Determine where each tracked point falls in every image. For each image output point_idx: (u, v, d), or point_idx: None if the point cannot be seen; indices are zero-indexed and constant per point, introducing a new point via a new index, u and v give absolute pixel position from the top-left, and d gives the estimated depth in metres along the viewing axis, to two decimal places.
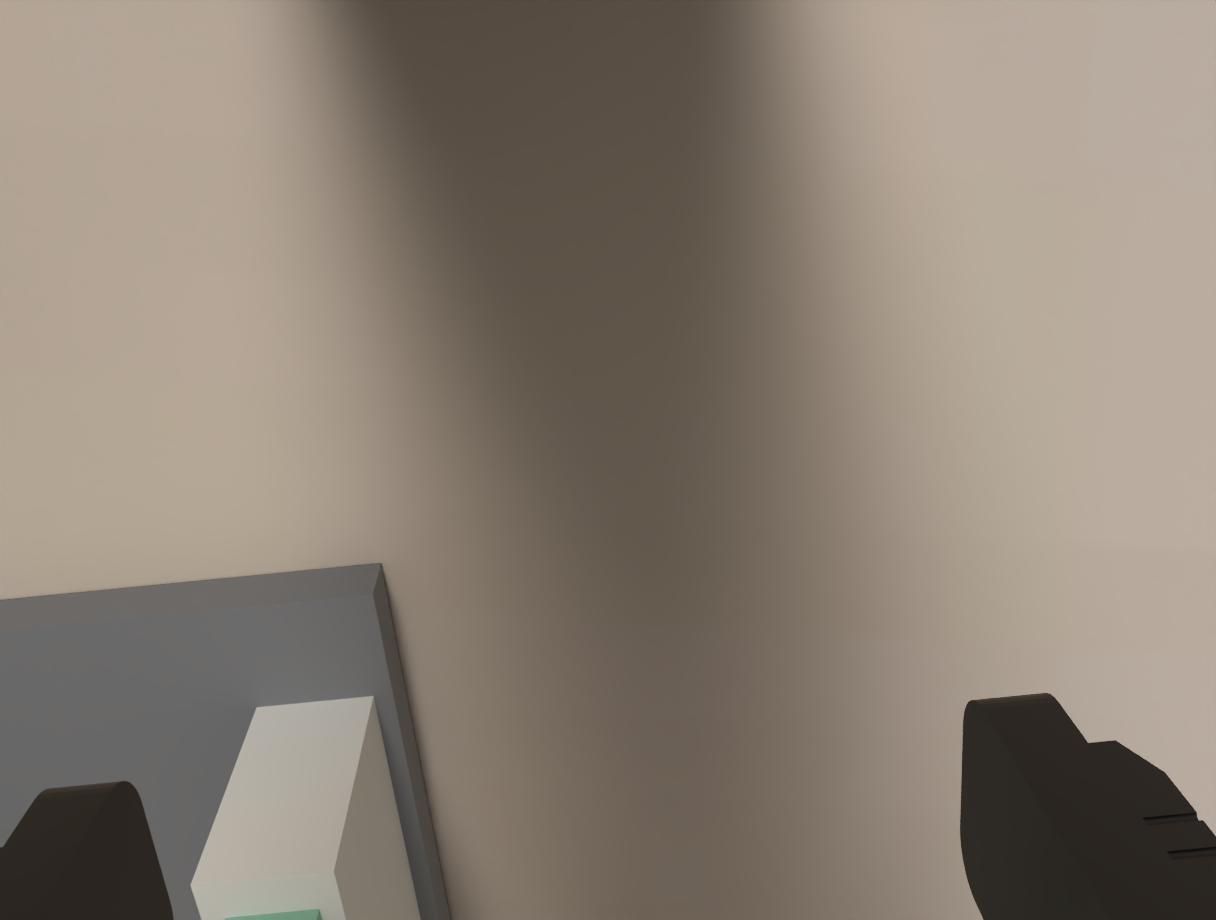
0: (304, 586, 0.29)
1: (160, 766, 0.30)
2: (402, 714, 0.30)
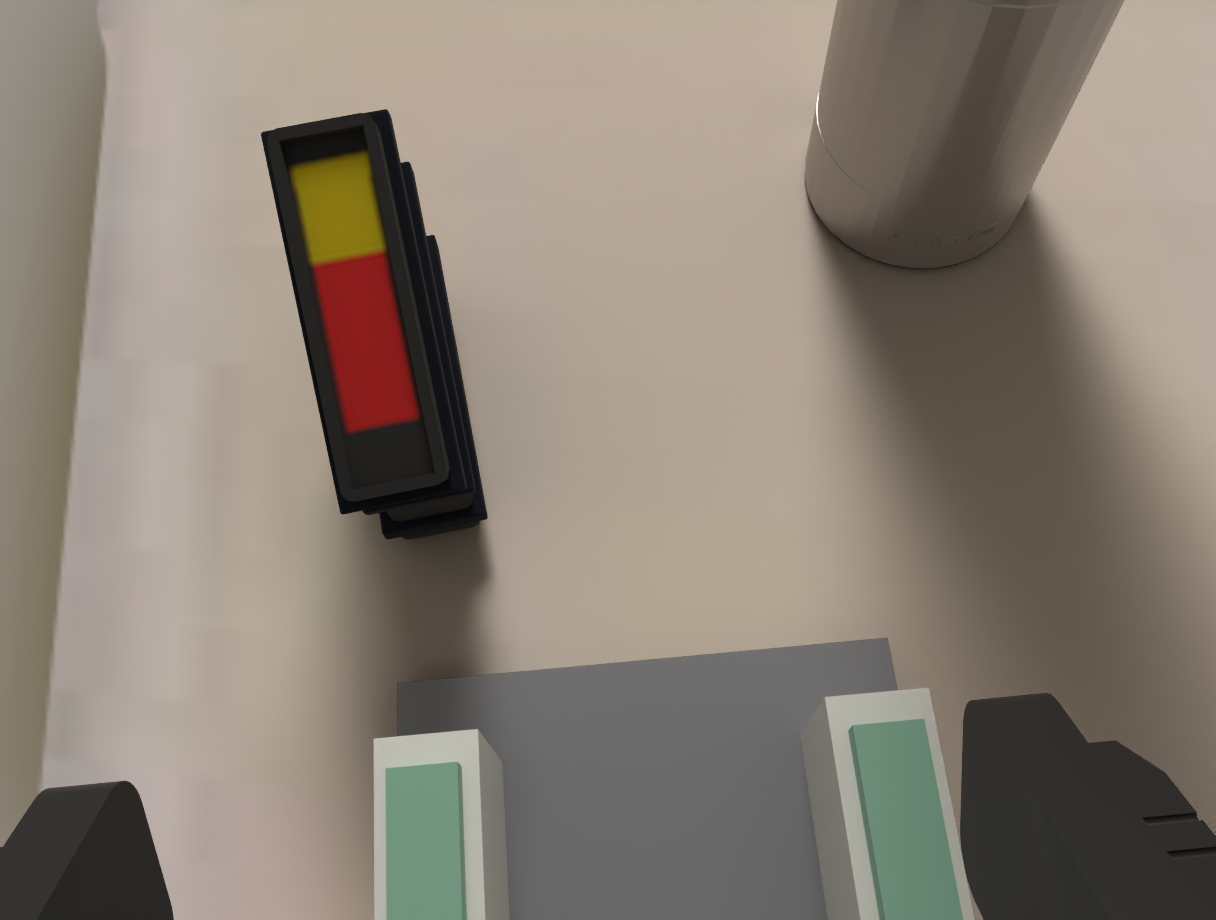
0: None
1: (720, 790, 0.38)
2: None
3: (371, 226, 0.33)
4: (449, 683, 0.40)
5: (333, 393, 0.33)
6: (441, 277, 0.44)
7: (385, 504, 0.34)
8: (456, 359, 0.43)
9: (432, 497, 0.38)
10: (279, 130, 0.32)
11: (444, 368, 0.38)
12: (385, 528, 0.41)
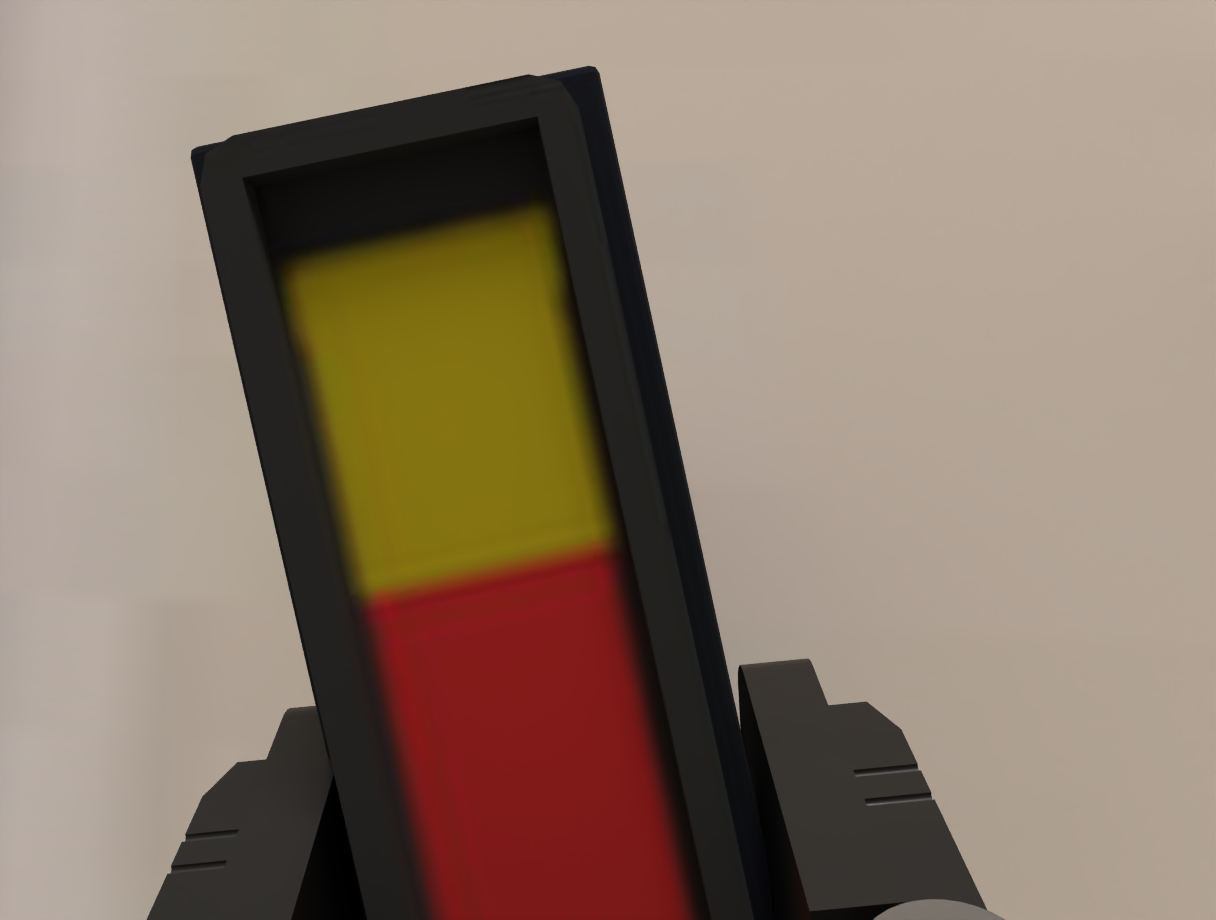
0: None
1: None
2: None
3: (565, 461, 0.10)
4: None
5: None
6: None
7: None
8: None
9: None
10: (244, 141, 0.09)
11: None
12: None
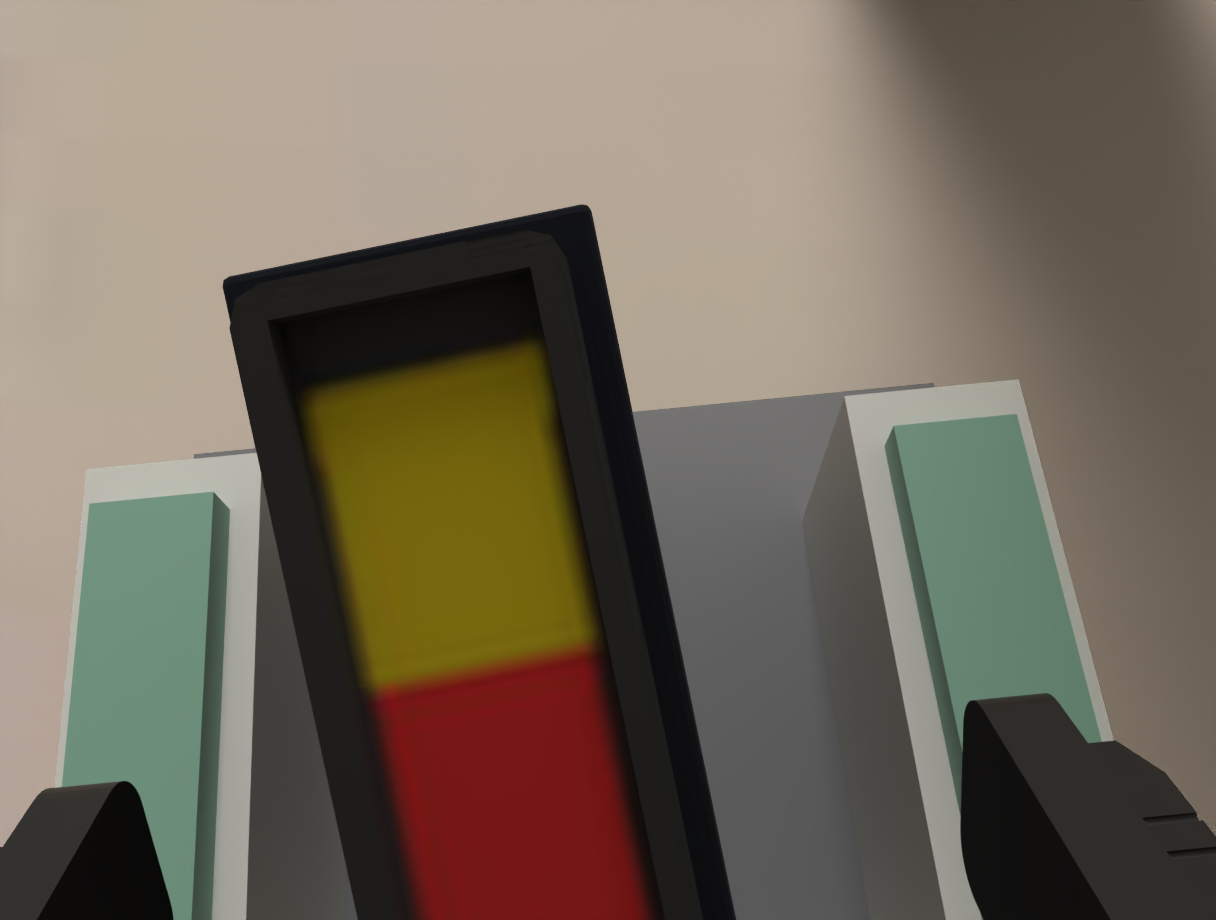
0: None
1: (680, 601, 0.25)
2: None
3: (553, 571, 0.11)
4: None
5: None
6: None
7: None
8: None
9: None
10: (269, 288, 0.10)
11: None
12: None
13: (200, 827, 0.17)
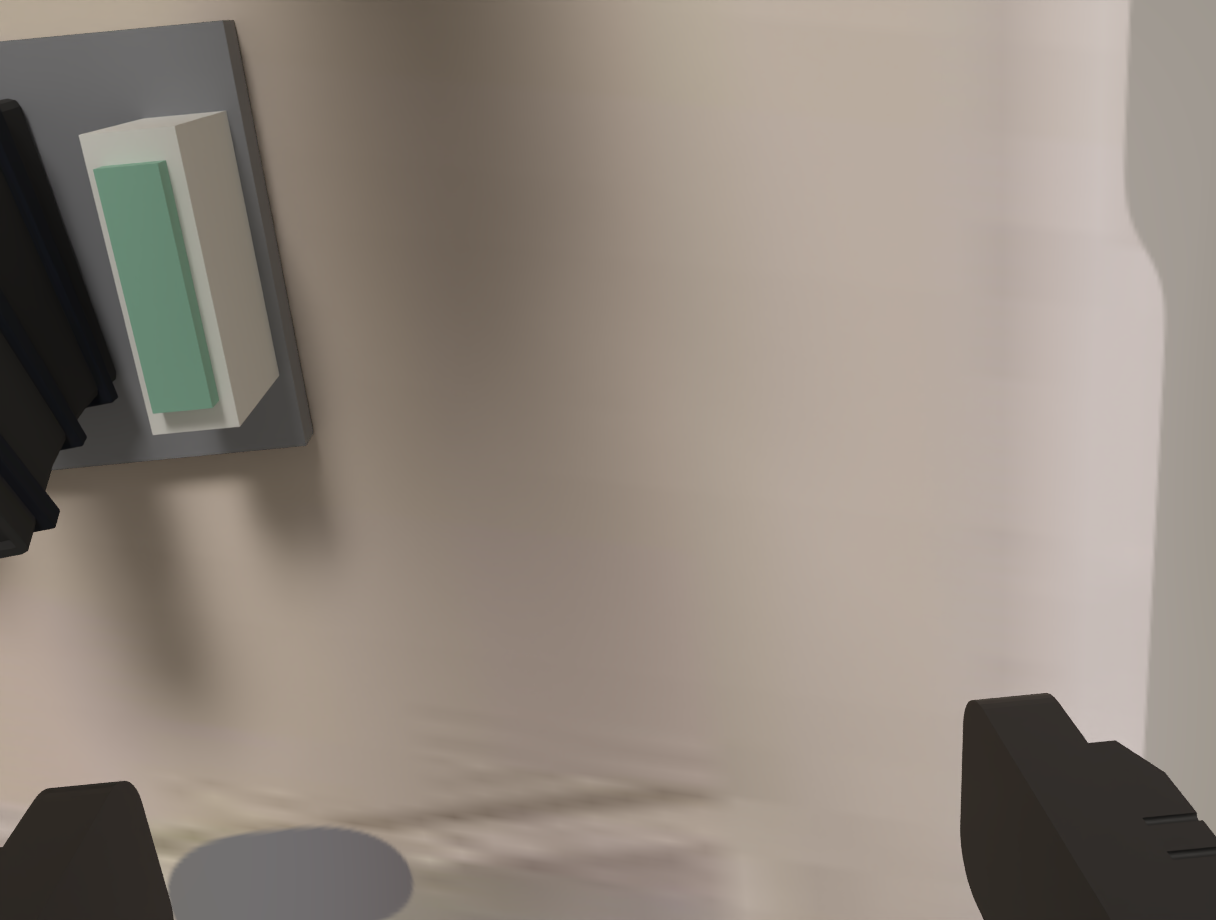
0: None
1: (74, 170, 0.42)
2: (250, 139, 0.42)
3: None
4: None
5: None
6: (4, 151, 0.39)
7: None
8: (46, 248, 0.40)
9: None
10: None
11: (17, 351, 0.37)
12: None
13: None
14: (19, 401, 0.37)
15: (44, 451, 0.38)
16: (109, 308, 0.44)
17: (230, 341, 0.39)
